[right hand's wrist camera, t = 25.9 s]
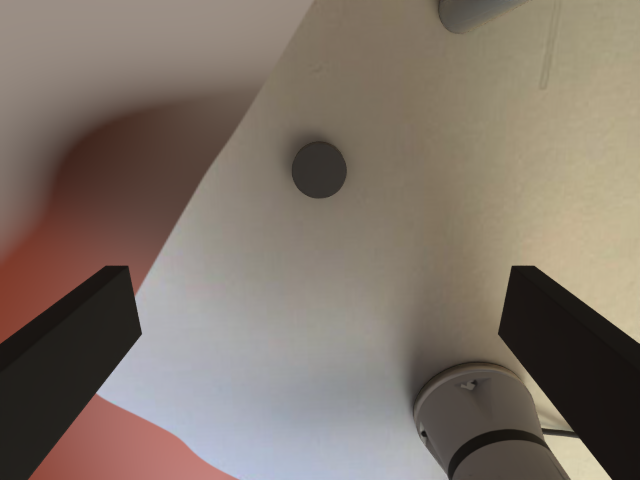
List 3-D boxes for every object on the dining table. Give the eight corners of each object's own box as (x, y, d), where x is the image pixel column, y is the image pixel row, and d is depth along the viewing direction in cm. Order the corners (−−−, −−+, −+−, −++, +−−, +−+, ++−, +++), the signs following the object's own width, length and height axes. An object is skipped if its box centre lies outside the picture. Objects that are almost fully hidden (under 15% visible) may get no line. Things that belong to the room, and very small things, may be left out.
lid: (355, 159, 37) (357, 162, 35) (327, 202, 39) (327, 208, 37) (310, 131, 36) (309, 132, 34) (284, 176, 38) (282, 180, 36)
